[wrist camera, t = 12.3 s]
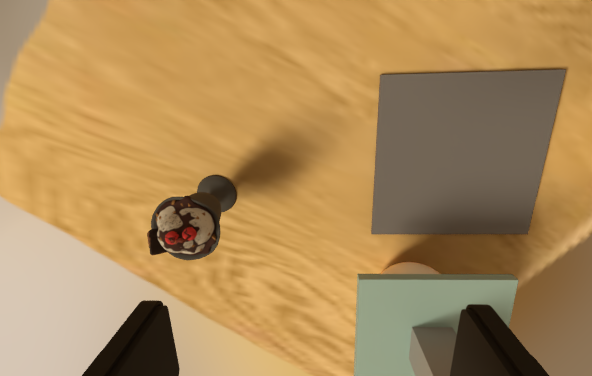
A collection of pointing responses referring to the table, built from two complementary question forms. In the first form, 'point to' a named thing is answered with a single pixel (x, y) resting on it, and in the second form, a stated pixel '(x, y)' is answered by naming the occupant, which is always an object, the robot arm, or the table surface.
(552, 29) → the table surface
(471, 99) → the mat
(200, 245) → the sundae
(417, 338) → the lid
